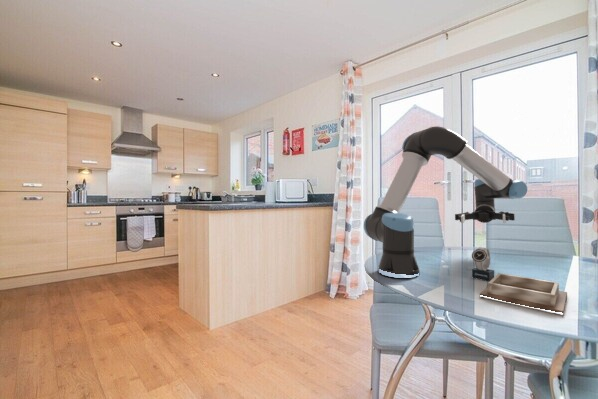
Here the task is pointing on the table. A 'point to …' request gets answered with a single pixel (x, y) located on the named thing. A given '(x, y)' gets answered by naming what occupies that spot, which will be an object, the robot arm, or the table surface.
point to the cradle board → (526, 292)
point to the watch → (482, 264)
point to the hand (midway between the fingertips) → (482, 219)
